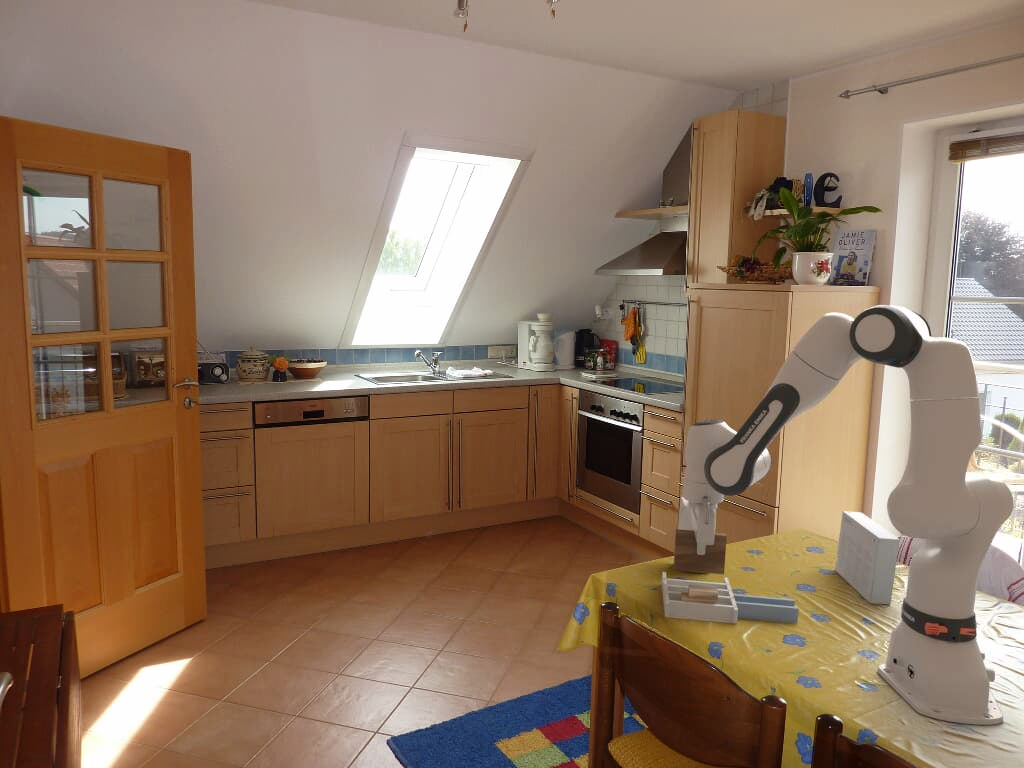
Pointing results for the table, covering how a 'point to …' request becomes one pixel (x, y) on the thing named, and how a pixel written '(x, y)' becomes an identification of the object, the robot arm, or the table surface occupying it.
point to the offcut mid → (686, 598)
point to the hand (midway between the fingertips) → (699, 551)
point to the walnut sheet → (692, 561)
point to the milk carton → (686, 518)
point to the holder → (766, 608)
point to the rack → (698, 611)
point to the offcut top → (703, 592)
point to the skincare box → (867, 557)
